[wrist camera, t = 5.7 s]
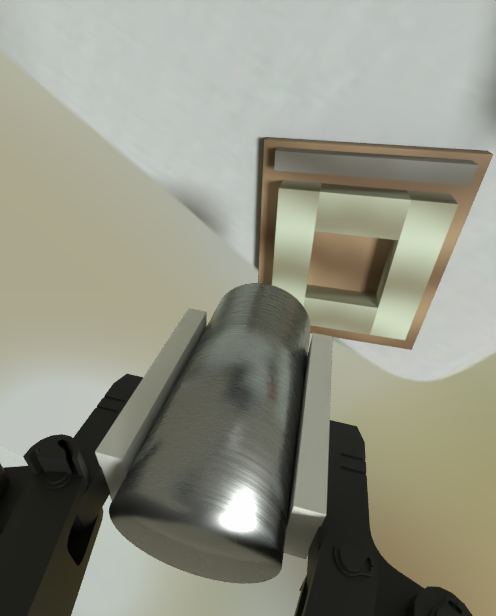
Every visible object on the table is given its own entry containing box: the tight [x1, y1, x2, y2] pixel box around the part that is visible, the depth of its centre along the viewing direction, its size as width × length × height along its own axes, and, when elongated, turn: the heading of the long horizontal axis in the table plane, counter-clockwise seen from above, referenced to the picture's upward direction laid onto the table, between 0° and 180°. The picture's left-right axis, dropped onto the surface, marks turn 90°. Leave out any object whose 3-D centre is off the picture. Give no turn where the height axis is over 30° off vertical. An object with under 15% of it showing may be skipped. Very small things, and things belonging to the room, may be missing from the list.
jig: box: [258, 137, 493, 350], centre depth 26 cm, size 16×14×3 cm
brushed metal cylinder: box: [109, 283, 311, 583], centre depth 12 cm, size 4×4×9 cm
